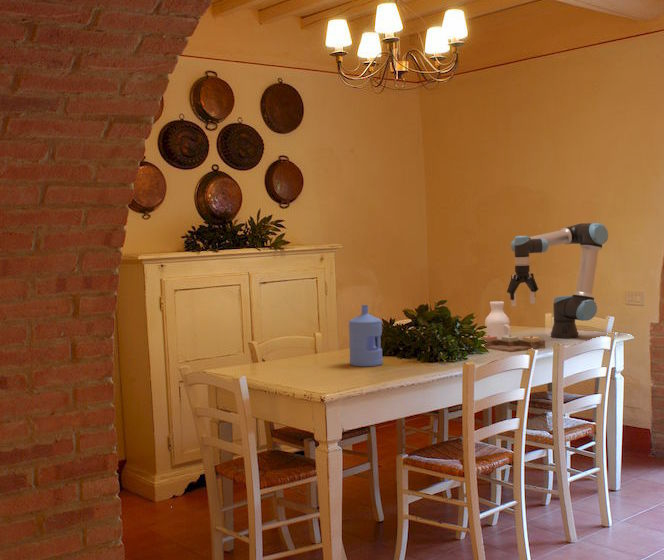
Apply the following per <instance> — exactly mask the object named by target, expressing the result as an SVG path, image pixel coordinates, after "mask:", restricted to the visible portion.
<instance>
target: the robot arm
mask: <svg viewBox="0 0 664 560" xmlns="http://www.w3.org/2000/svg"><path fill="white" fill-rule="evenodd" d="M608 240H609V232H608V229H607V227H606V225H604V224H602V223H600V222H599V223H598V222H590V223H589V222H586V223H577V224H573V225H570V226H566V227H562V228H561V229H560V230H555V231H551V232H546V233H543V234H538V235H533V236H528V235H516V236H515V237H514V239H513V240H512V241H511V243H510V249H511V250H512V251H513V252H514V272H515V274H511V275H510V276H511V277H510V281H509V284H508V288H507V290H506V293H508V294H509V296H510V305H511V307H517V299H516V298H517V295H516V291H517V289H518V287H519V286H520V284H523V283H525V284H526V286H527V287H528V288H529V290H530V291H529V303H530V305H535V304H536V302H535V301H536V292H537V291H538V290H539V287H538V285H537V283H536V279H535V277H534V276H535V275H534V273H531V272H530V270H531V269H530V254H541V253H546V252H547V251H548V249H549V248H550V247H553V246H558V245H563V244H564V245H571V244H573V245H574V244H575V245H579V246H580V248H581V249H582V251H581V255H580V261H579V262H580V263H579V269H578V277H577V282H576V288H575V289H576V290H575V292H574V293H573V294H572V295H563V296H555V297H554V298H553V303H552V304H553V325H552V328H551V331H550V337H552V338H556V339H574V338H579V331H578V328H577V325H576V321H581V322H583V321H586V322H587V321H591V320H592V319H594V318H595V316H596V314H597V313H598V305H597V303H596V301H595V296H594V295H593V291H594V289H593V288H594V283H595V276H596V269H597V262H598V256H599V251H601V250H602V249H603V245H604V244H605V243H606V242H607V241H608Z"/></svg>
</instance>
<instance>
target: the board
mask: <svg viewBox="0 0 664 560" xmlns="http://www.w3.org/2000/svg"><path fill="white" fill-rule="evenodd" d="M484 346H485V347H486V348H485V349H489V350H493V351H494V350H495V351H501V352H507V353H515V352H522V351H529V350H528V349H531V348H533V349H531V350H538V349H539V350H540V349H545V348H546V340H542V339H540V341H537V342H526V341H523V339H518V341H512V342H508V341H502V340H498V339H497V340H495V341H487V344H485V345H484Z"/></svg>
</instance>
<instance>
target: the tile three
mask: <svg viewBox="0 0 664 560" xmlns="http://www.w3.org/2000/svg"><path fill="white" fill-rule="evenodd" d="M522 340H523V341H526V342H537V341H540V340H541V337H539V336H533V335H531V336H523V338H522Z"/></svg>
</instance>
